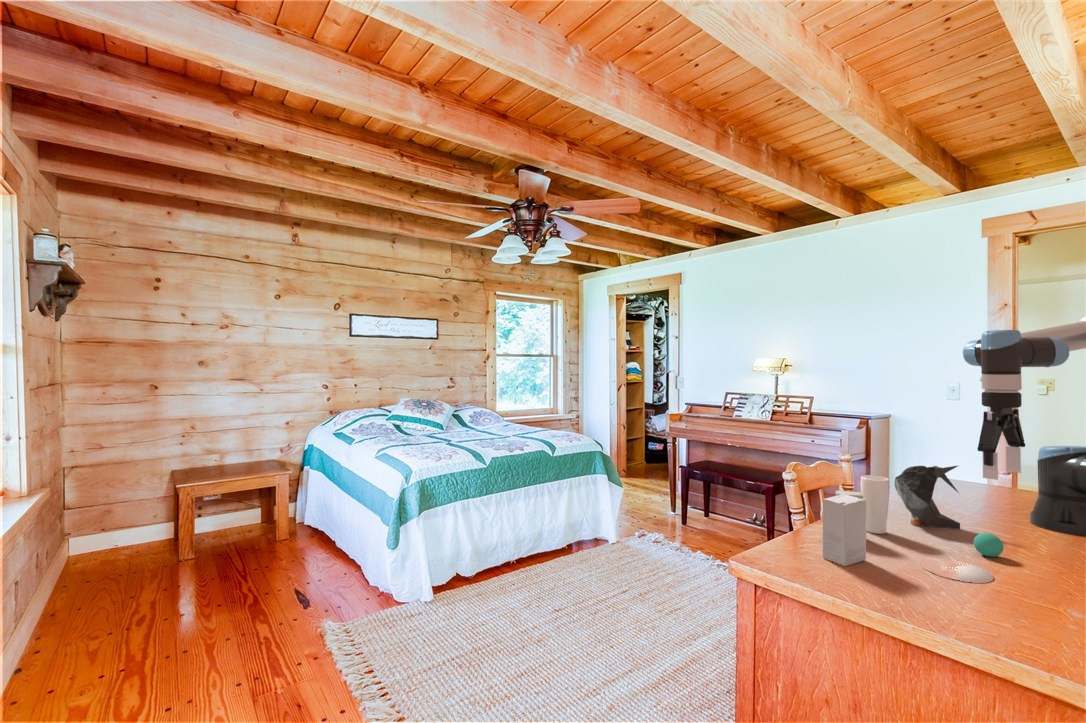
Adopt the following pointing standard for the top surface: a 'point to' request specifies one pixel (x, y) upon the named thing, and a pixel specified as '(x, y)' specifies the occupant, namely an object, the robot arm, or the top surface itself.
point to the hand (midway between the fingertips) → (1002, 475)
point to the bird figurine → (923, 495)
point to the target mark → (972, 574)
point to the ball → (988, 544)
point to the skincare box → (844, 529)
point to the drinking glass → (875, 502)
